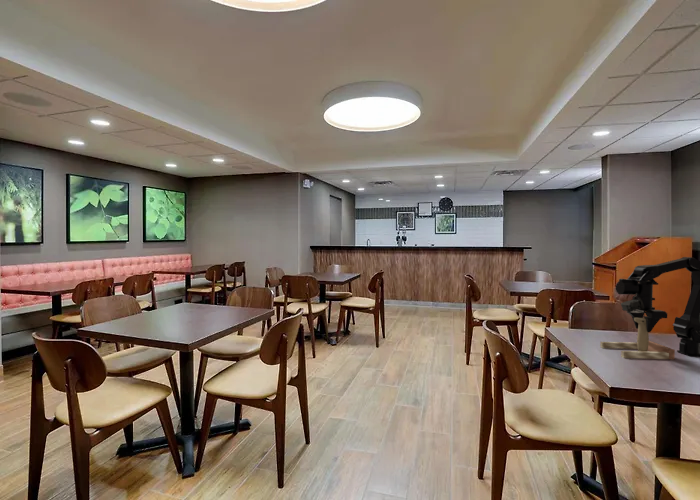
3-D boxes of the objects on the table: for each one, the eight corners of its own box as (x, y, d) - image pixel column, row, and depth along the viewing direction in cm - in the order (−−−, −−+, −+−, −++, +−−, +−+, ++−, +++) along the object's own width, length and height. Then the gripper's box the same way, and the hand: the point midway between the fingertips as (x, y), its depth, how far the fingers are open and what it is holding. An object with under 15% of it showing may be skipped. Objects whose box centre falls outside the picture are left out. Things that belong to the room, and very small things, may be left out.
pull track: (645, 348, 166) (645, 339, 166) (674, 359, 150) (674, 349, 150) (600, 346, 168) (600, 338, 168) (624, 358, 152) (624, 348, 152)
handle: (651, 355, 155) (652, 320, 155) (632, 352, 159) (633, 318, 159) (652, 353, 159) (653, 319, 158) (633, 350, 163) (634, 316, 163)
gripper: (610, 291, 168) (609, 325, 168) (640, 297, 149) (639, 335, 150) (635, 291, 167) (634, 325, 168) (668, 298, 149) (667, 336, 149)
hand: (643, 330), depth 159 cm, fingers open, 6 cm apart
